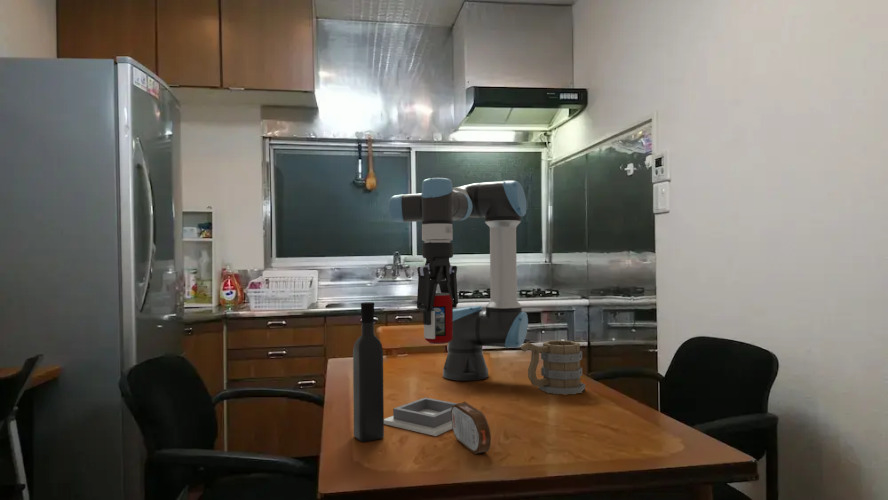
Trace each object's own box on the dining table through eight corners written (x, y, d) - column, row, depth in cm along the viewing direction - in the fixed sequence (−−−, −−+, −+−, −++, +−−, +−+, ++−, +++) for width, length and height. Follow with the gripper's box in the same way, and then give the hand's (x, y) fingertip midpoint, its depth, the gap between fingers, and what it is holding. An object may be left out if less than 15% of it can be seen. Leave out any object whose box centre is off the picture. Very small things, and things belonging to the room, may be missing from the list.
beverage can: (419, 342, 130) (418, 293, 130) (438, 339, 135) (437, 291, 135) (439, 345, 126) (439, 294, 126) (458, 342, 131) (457, 292, 131)
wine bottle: (352, 435, 120) (351, 302, 121) (375, 431, 123) (374, 301, 124) (361, 443, 116) (359, 304, 116) (385, 438, 118) (384, 303, 119)
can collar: (423, 408, 142) (423, 394, 142) (474, 418, 133) (474, 404, 133) (382, 423, 129) (382, 409, 129) (435, 436, 120) (435, 420, 120)
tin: (492, 457, 107) (492, 415, 107) (478, 460, 105) (477, 417, 106) (461, 435, 121) (461, 397, 121) (448, 436, 119) (448, 399, 119)
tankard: (569, 383, 169) (568, 335, 169) (592, 392, 157) (591, 341, 157) (511, 388, 162) (510, 339, 162) (531, 399, 150) (530, 345, 150)
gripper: (425, 241, 120) (427, 343, 120) (471, 242, 137) (473, 332, 136) (400, 241, 125) (401, 340, 124) (447, 242, 141) (448, 330, 141)
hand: (438, 336), depth 130 cm, fingers closed on beverage can, 7 cm apart
